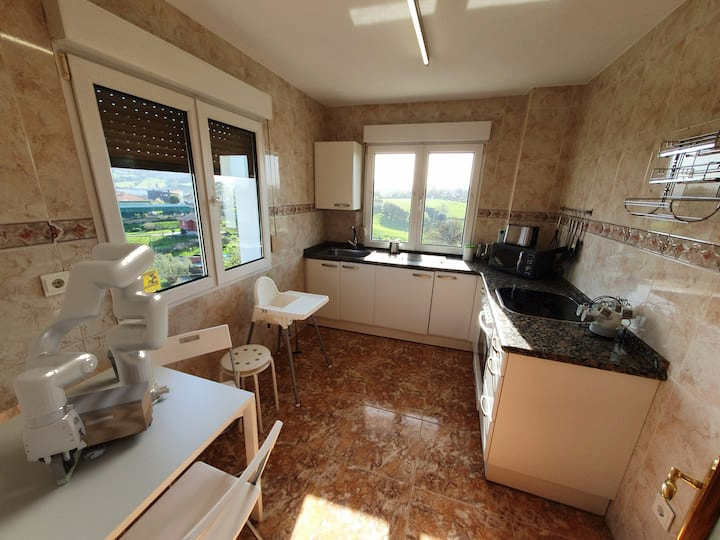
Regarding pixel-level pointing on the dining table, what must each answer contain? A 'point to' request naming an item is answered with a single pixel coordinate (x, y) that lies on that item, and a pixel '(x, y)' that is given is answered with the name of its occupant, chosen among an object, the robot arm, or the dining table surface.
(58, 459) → the scraper tool
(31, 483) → the dining table surface
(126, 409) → the walnut cabinet
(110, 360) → the beverage cup
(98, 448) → the grey rounded piece
